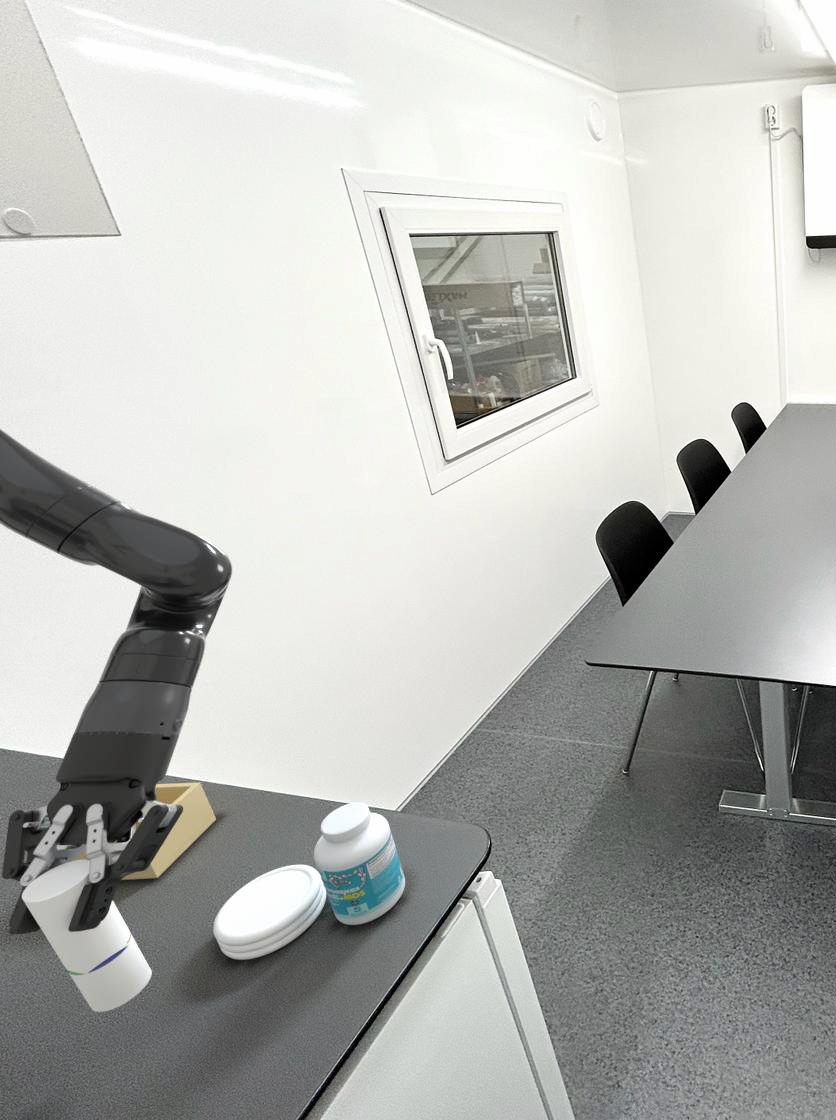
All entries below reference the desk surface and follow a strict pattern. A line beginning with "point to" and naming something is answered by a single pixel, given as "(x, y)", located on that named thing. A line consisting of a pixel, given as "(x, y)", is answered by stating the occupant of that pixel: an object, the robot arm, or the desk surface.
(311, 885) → the white round stack
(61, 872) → the tube
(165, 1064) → the desk surface
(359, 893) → the pill bottle
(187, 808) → the bin
